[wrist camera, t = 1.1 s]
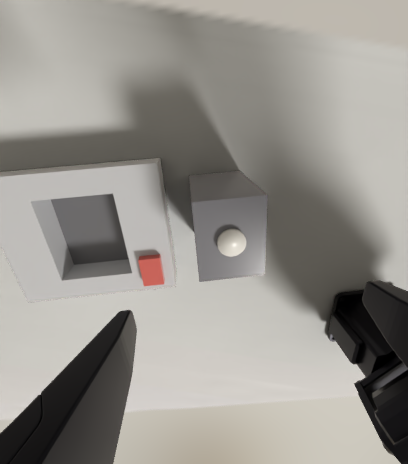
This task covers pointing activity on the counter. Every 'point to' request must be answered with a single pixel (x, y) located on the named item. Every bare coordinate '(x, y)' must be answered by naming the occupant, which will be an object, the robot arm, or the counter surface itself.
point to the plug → (228, 225)
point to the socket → (87, 229)
